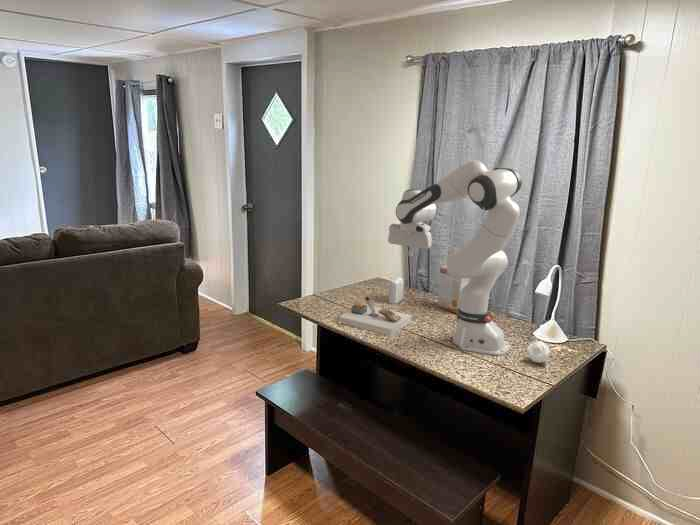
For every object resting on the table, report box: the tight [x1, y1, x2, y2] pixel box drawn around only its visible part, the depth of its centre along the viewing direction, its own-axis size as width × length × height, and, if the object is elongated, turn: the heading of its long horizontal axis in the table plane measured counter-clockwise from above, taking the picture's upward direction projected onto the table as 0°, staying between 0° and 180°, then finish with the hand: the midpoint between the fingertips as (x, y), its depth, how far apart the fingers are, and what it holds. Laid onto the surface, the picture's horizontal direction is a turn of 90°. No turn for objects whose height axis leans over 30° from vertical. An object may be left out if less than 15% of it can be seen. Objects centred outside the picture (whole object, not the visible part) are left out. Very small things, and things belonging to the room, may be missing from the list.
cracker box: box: [437, 264, 470, 315], centre depth 233 cm, size 14×6×21 cm, turn 34°
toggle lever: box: [364, 295, 375, 314], centre depth 217 cm, size 2×2×8 cm
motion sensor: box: [526, 340, 551, 364], centre depth 181 cm, size 8×8×8 cm
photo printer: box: [388, 276, 404, 305], centre depth 244 cm, size 10×4×12 cm, turn 149°
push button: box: [355, 301, 364, 308], centre depth 220 cm, size 3×3×2 cm
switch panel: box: [338, 303, 412, 337], centre depth 216 cm, size 26×20×6 cm
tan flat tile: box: [378, 307, 401, 322], centre depth 212 cm, size 9×5×1 cm, turn 59°
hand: (408, 255), depth 218 cm, fingers closed
